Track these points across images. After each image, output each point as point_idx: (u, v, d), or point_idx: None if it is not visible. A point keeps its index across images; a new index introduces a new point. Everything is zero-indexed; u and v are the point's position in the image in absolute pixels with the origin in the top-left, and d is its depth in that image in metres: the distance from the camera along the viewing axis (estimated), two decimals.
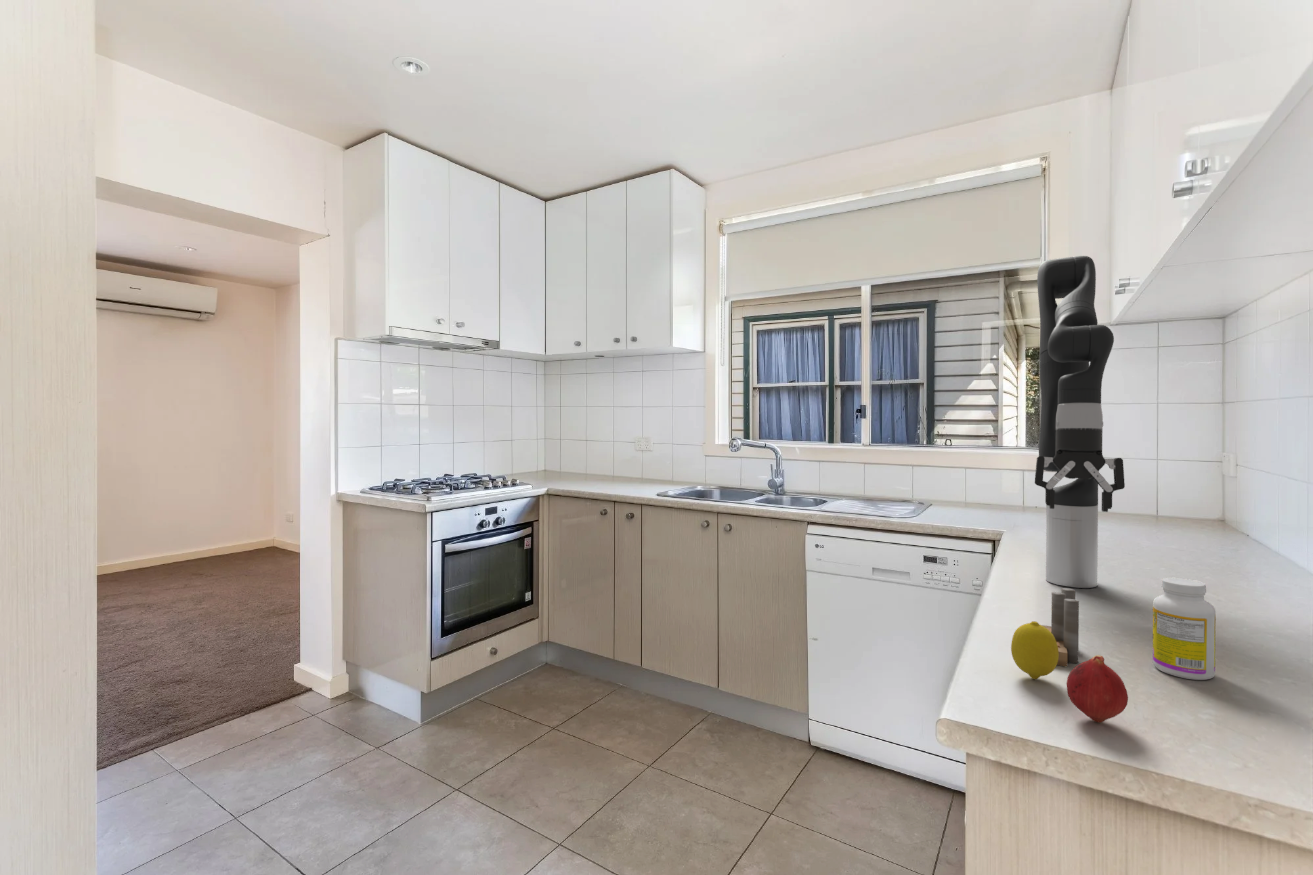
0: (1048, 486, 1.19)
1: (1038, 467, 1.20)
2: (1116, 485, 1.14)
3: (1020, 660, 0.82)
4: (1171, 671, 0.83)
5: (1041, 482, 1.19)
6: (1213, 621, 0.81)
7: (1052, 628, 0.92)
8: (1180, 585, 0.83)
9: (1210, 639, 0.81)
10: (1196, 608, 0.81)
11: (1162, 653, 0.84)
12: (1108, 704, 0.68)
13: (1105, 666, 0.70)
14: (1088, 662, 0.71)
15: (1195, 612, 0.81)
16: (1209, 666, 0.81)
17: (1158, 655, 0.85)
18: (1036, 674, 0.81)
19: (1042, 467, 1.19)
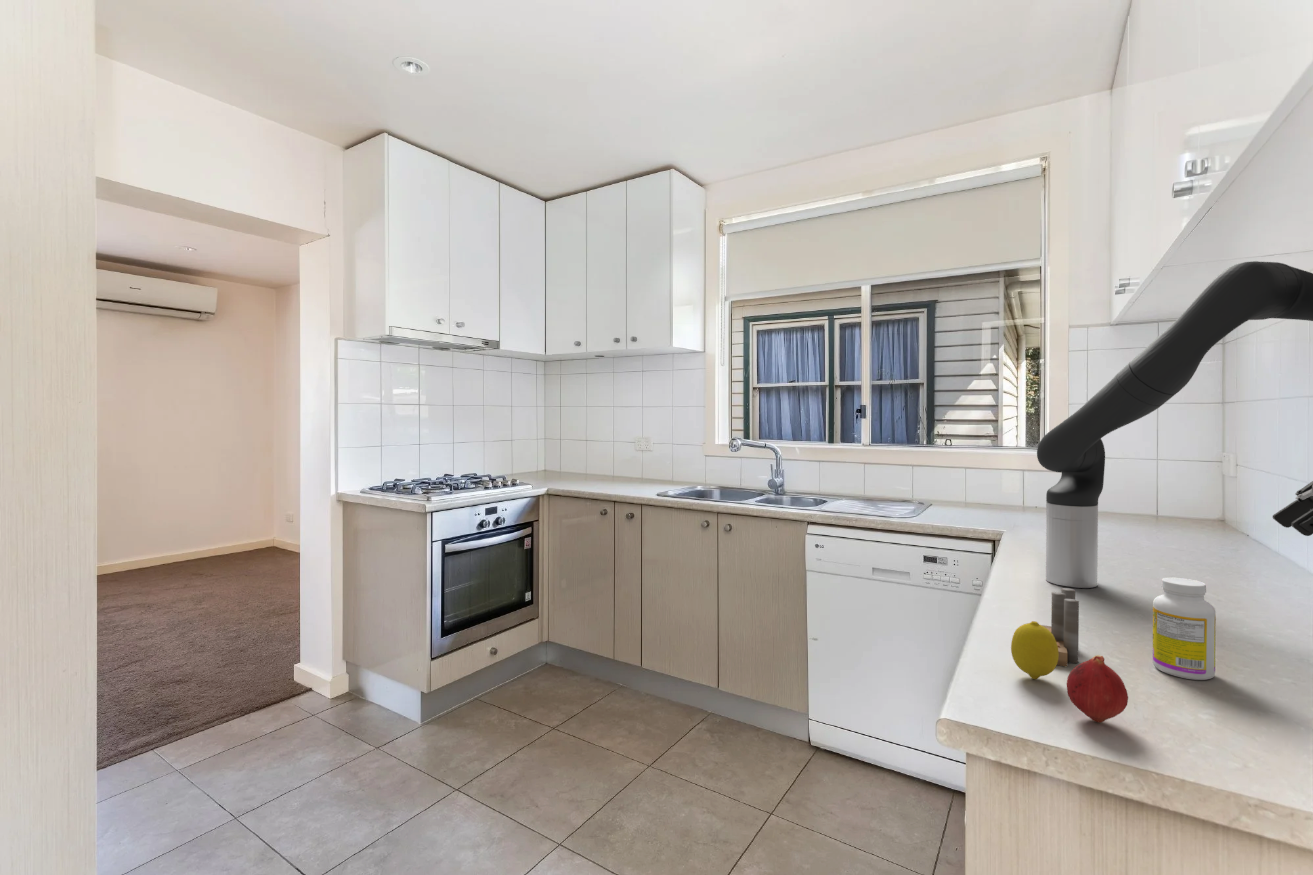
0: None
1: None
2: None
3: (1020, 660, 0.82)
4: (1171, 671, 0.83)
5: None
6: (1214, 621, 0.81)
7: (1052, 628, 0.92)
8: (1180, 585, 0.83)
9: (1210, 639, 0.81)
10: (1196, 608, 0.81)
11: (1162, 653, 0.84)
12: (1108, 704, 0.68)
13: (1105, 666, 0.70)
14: (1088, 662, 0.71)
15: (1195, 612, 0.81)
16: (1209, 666, 0.81)
17: (1158, 655, 0.85)
18: (1036, 674, 0.81)
19: None
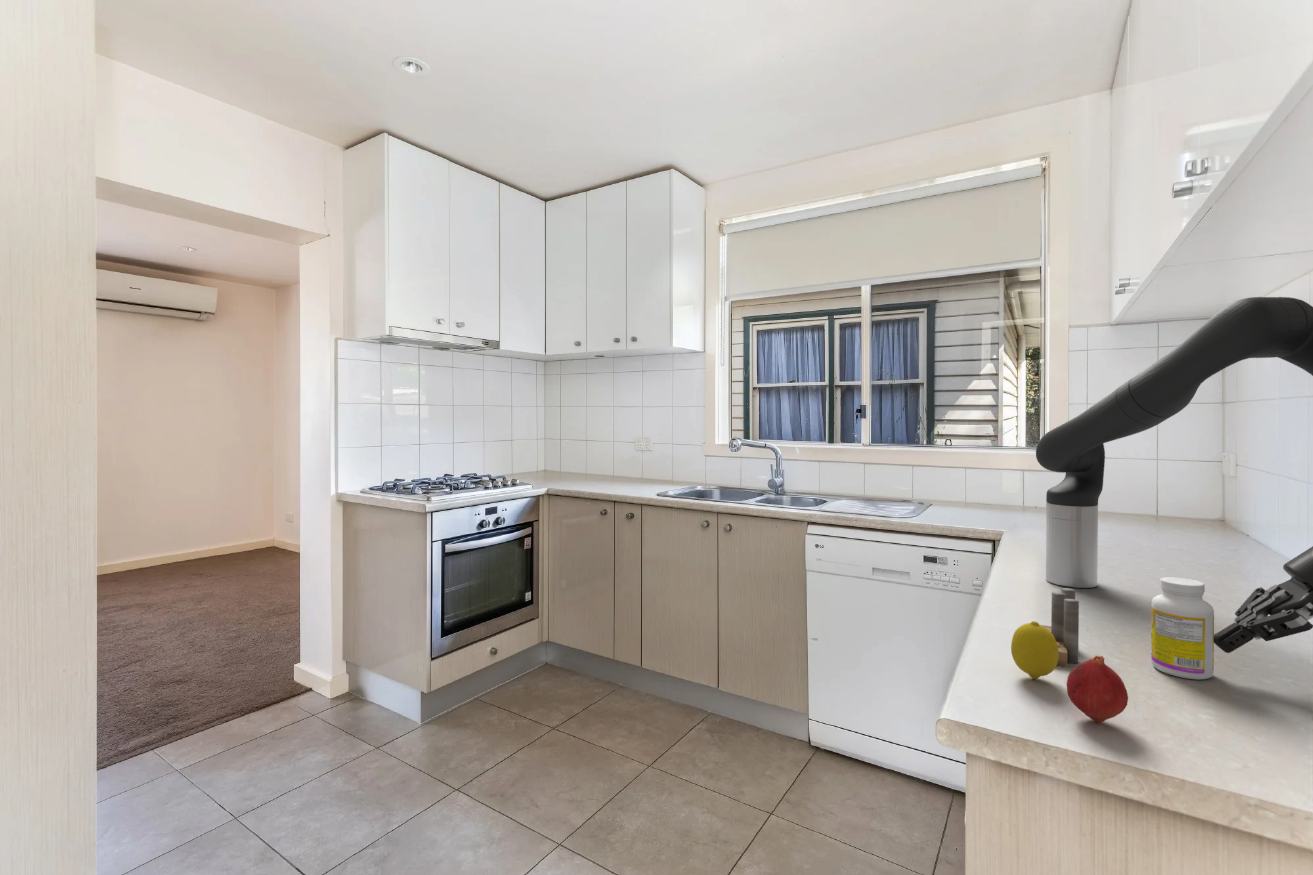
0: (1258, 637, 0.80)
1: None
2: None
3: (1020, 660, 0.82)
4: (1170, 671, 0.83)
5: None
6: (1212, 621, 0.81)
7: (1052, 628, 0.92)
8: (1178, 585, 0.83)
9: (1209, 639, 0.81)
10: (1195, 608, 0.81)
11: (1161, 652, 0.84)
12: (1108, 704, 0.68)
13: (1105, 666, 0.70)
14: (1088, 662, 0.71)
15: (1193, 612, 0.81)
16: (1207, 666, 0.81)
17: (1156, 654, 0.85)
18: (1036, 674, 0.81)
19: None
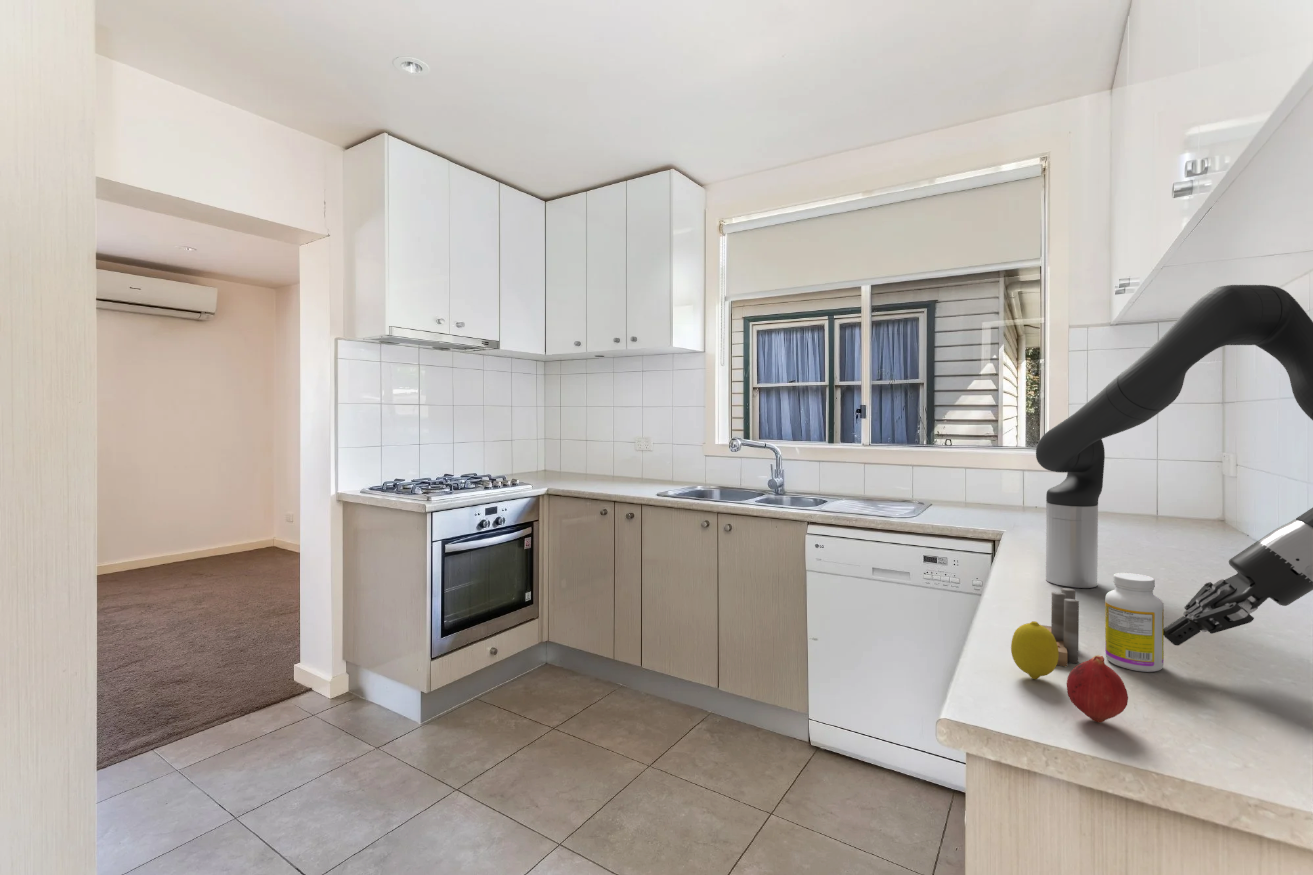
0: (1205, 630, 0.82)
1: None
2: None
3: (1020, 660, 0.82)
4: (1121, 663, 0.86)
5: None
6: (1161, 615, 0.84)
7: (1052, 628, 0.92)
8: (1130, 580, 0.85)
9: (1158, 632, 0.84)
10: (1145, 602, 0.84)
11: (1113, 646, 0.87)
12: (1108, 704, 0.68)
13: (1105, 666, 0.70)
14: (1088, 662, 0.71)
15: (1143, 606, 0.84)
16: (1157, 658, 0.84)
17: (1109, 648, 0.87)
18: (1036, 674, 0.81)
19: None
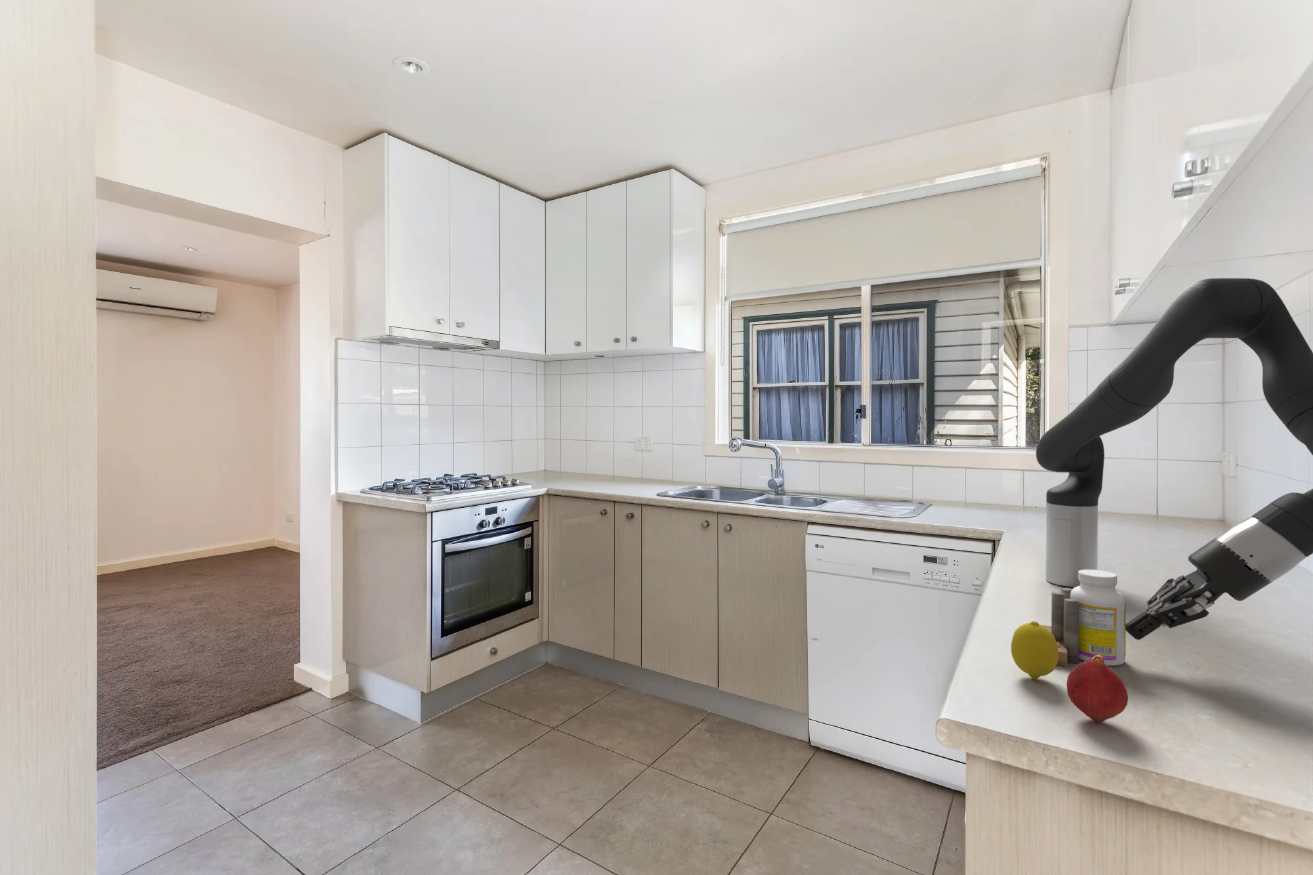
0: (1165, 625, 0.84)
1: None
2: None
3: (1020, 660, 0.82)
4: (1085, 658, 0.88)
5: None
6: (1123, 610, 0.86)
7: (1052, 628, 0.92)
8: (1093, 576, 0.87)
9: (1120, 627, 0.86)
10: (1107, 598, 0.86)
11: None
12: (1108, 704, 0.68)
13: (1105, 666, 0.70)
14: (1088, 662, 0.71)
15: (1106, 602, 0.86)
16: (1119, 653, 0.86)
17: None
18: (1036, 674, 0.81)
19: None
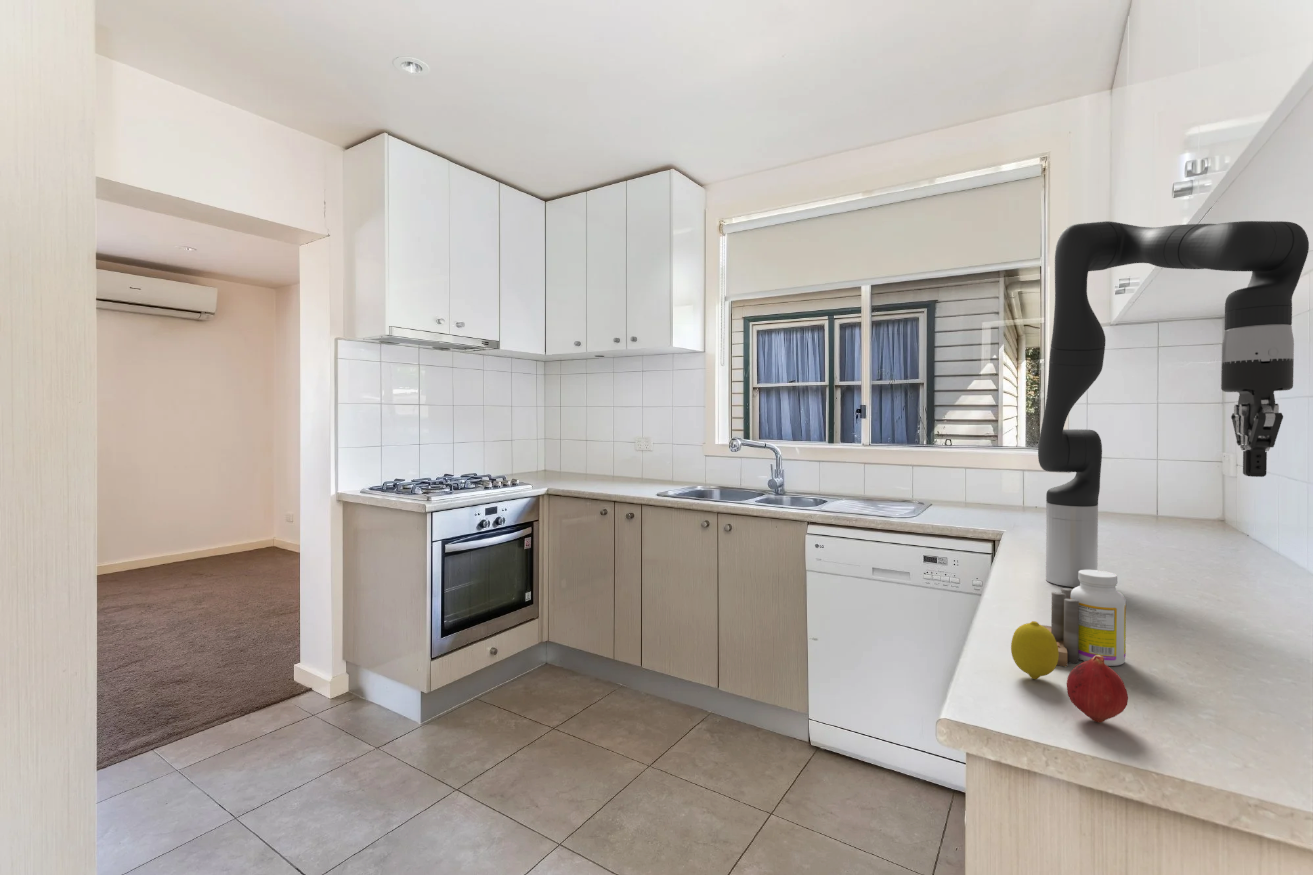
0: (1268, 448, 0.87)
1: None
2: (1258, 438, 0.90)
3: (1020, 660, 0.82)
4: (1085, 658, 0.88)
5: None
6: (1123, 610, 0.86)
7: (1052, 628, 0.92)
8: (1093, 576, 0.87)
9: (1120, 628, 0.86)
10: (1107, 598, 0.86)
11: None
12: (1108, 704, 0.68)
13: (1105, 666, 0.70)
14: (1088, 662, 0.71)
15: (1106, 602, 0.86)
16: (1119, 653, 0.86)
17: None
18: (1036, 674, 0.81)
19: None
